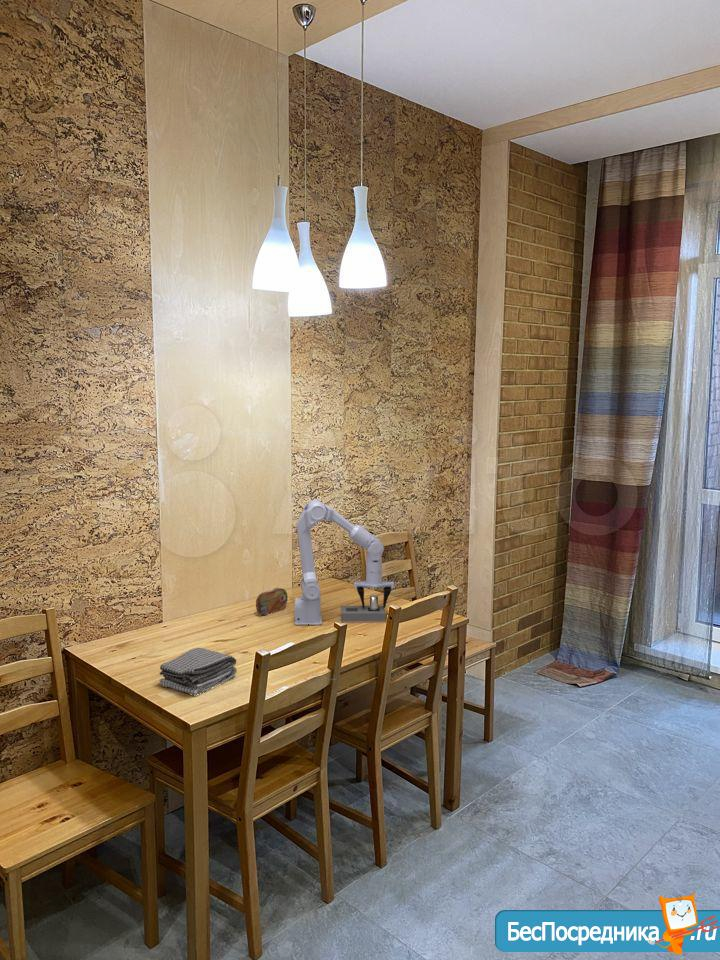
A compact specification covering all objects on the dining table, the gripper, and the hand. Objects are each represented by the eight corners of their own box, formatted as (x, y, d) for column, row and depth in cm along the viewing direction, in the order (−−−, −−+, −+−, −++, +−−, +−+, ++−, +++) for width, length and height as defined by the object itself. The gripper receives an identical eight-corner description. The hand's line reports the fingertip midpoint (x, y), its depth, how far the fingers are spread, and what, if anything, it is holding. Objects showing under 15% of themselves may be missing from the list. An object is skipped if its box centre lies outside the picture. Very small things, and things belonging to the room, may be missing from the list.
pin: (369, 618, 275) (369, 597, 274) (369, 616, 278) (369, 595, 277) (377, 618, 275) (378, 597, 274) (377, 616, 278) (377, 595, 277)
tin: (260, 617, 278) (260, 595, 276) (254, 616, 279) (254, 594, 278) (288, 607, 289) (288, 586, 288) (282, 606, 291) (282, 585, 290)
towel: (238, 677, 224) (238, 651, 223) (193, 699, 209) (192, 672, 208) (202, 666, 232) (201, 641, 231) (155, 686, 217) (154, 660, 216)
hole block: (341, 622, 272) (341, 613, 272) (340, 614, 281) (340, 605, 280) (385, 622, 273) (385, 613, 272) (383, 614, 281) (383, 605, 281)
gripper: (354, 573, 270) (354, 610, 272) (394, 573, 271) (394, 610, 273) (353, 568, 277) (353, 604, 279) (393, 568, 278) (392, 604, 280)
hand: (373, 607), depth 276 cm, fingers open, 7 cm apart
